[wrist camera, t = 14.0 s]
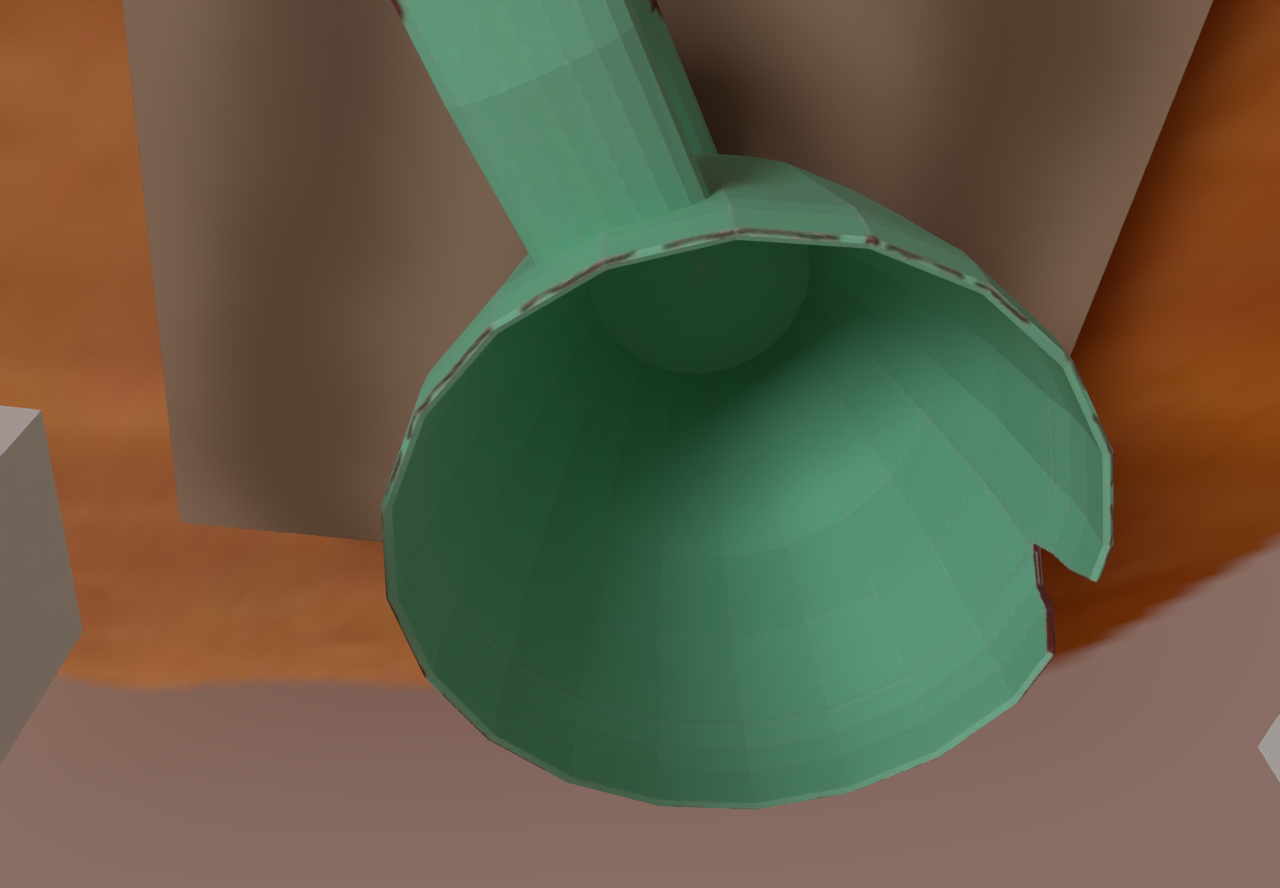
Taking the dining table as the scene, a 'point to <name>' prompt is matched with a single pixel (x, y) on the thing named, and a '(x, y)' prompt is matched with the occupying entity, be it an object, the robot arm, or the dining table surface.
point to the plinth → (487, 241)
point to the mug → (719, 446)
